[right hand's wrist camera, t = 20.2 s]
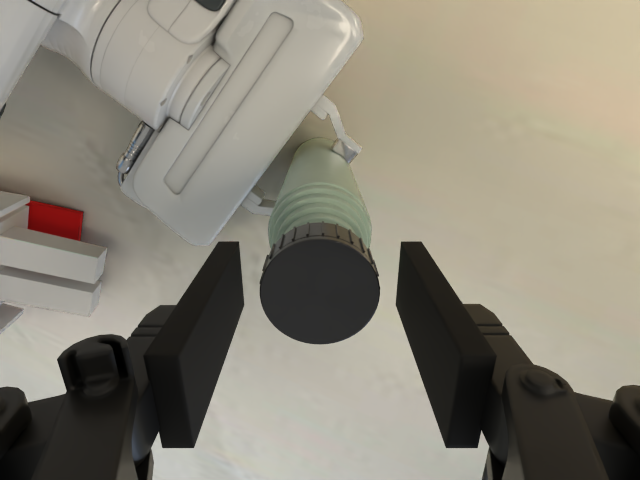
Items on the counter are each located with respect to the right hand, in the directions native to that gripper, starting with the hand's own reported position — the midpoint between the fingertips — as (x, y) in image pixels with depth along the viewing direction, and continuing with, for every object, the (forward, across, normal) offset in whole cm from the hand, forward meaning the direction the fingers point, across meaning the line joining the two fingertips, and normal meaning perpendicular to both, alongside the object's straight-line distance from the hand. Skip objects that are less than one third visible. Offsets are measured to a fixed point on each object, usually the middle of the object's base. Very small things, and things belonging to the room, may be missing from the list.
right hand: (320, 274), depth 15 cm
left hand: (+16, -1, 0) cm, 16 cm away
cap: (-1, 0, 0) cm, 1 cm away
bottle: (+22, 0, 0) cm, 22 cm away
